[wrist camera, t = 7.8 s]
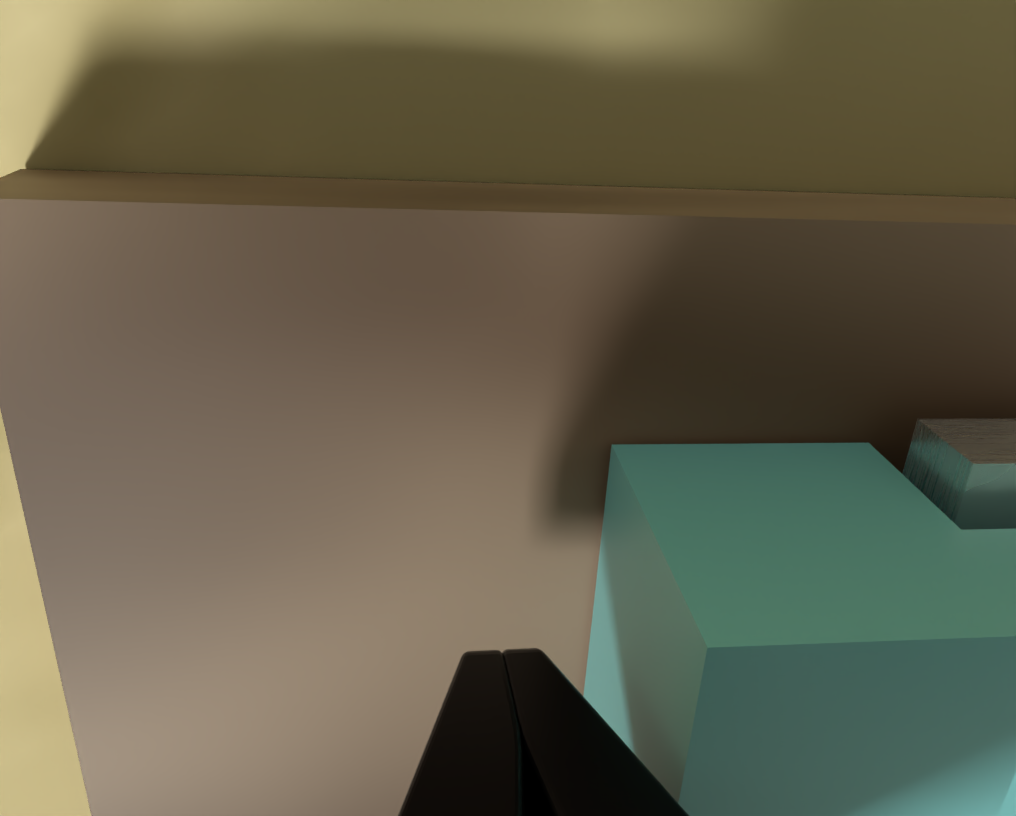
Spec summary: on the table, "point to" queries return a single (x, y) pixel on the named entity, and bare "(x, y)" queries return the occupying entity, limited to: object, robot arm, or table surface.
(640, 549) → the block
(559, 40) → the table surface
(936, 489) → the white flat bar piece
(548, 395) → the board
